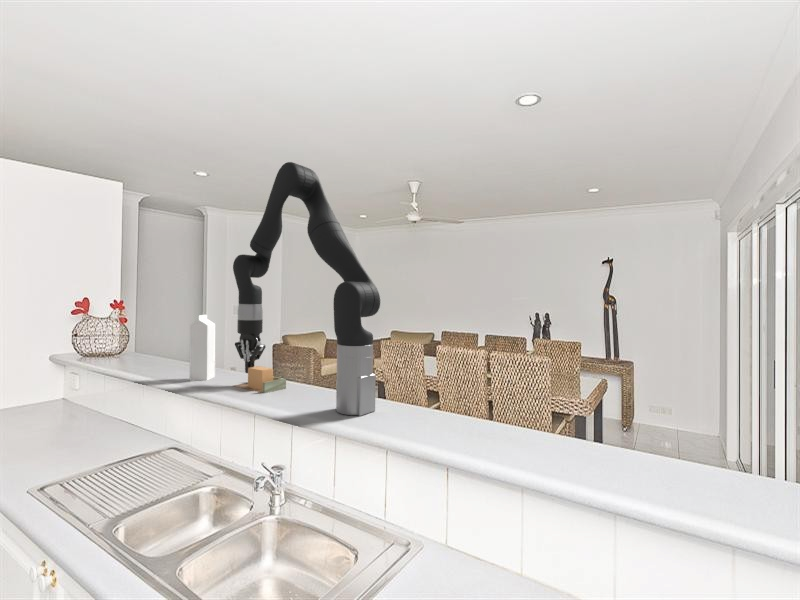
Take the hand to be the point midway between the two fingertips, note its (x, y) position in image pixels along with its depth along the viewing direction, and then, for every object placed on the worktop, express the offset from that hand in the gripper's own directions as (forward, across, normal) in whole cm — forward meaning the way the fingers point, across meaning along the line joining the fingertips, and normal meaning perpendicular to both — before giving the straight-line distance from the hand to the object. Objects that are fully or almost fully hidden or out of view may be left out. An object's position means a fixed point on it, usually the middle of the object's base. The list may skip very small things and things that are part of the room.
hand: (249, 372), depth 141 cm
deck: (+4, -5, 0) cm, 6 cm away
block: (+4, -5, 0) cm, 7 cm away
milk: (+5, +21, +3) cm, 22 cm away
